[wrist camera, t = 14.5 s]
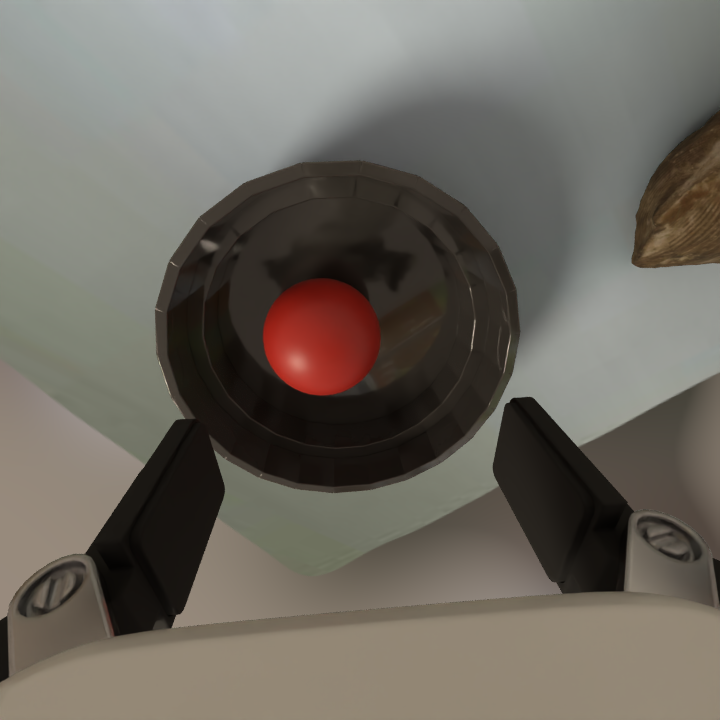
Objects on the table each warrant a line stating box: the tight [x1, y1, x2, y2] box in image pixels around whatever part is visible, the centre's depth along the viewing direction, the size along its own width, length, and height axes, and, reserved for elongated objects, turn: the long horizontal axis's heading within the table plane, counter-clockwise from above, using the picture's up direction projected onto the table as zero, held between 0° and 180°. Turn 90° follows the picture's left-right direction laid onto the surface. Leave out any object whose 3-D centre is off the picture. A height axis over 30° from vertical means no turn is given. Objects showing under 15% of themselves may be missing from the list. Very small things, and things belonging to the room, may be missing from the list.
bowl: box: [155, 160, 520, 493], centre depth 19 cm, size 17×17×6 cm
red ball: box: [263, 278, 381, 395], centre depth 18 cm, size 6×6×6 cm
